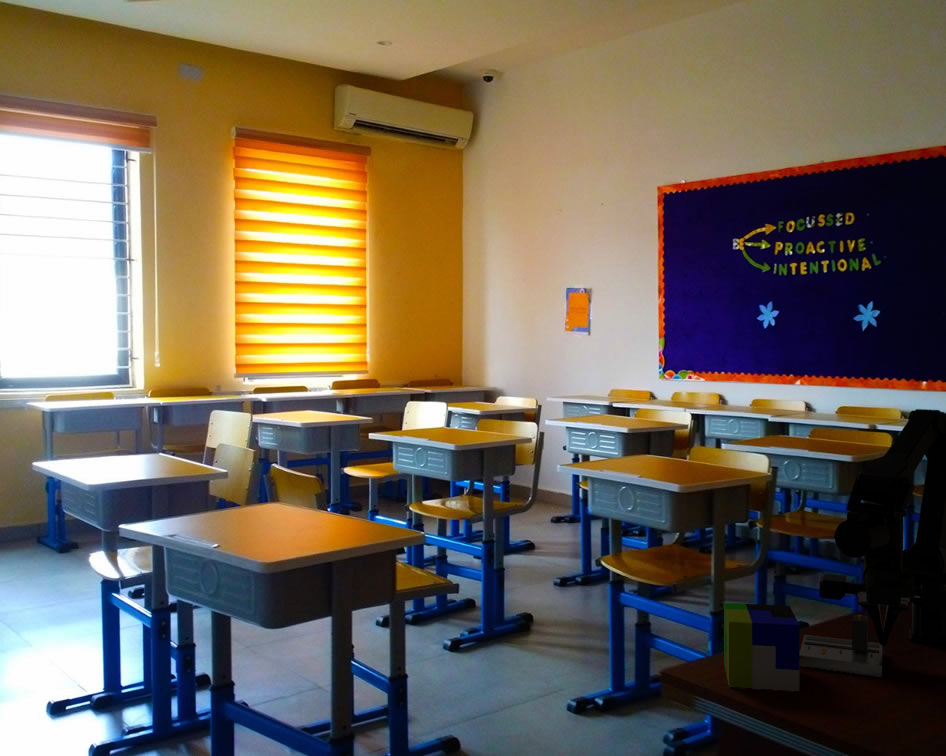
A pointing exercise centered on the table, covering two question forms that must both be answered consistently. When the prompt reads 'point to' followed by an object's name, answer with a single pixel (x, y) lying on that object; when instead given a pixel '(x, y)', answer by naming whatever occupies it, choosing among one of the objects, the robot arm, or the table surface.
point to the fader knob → (860, 633)
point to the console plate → (840, 656)
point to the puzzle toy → (761, 646)
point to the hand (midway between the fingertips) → (883, 644)
